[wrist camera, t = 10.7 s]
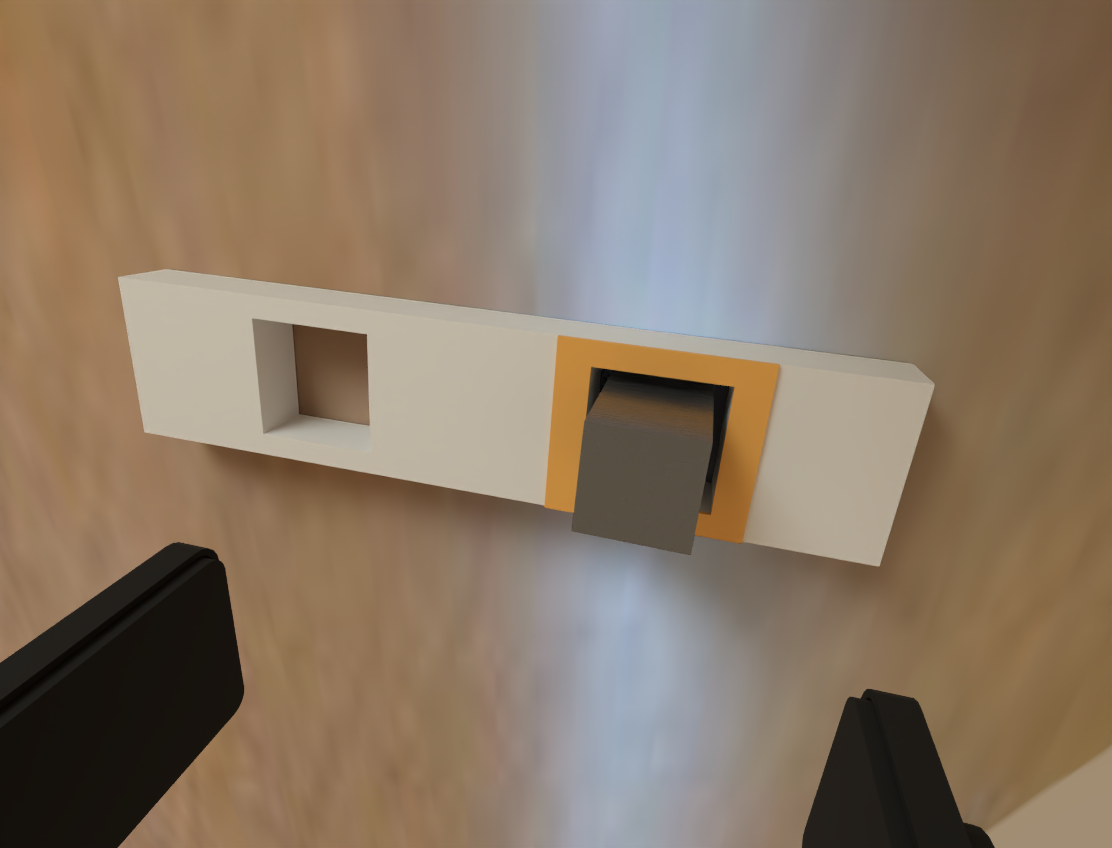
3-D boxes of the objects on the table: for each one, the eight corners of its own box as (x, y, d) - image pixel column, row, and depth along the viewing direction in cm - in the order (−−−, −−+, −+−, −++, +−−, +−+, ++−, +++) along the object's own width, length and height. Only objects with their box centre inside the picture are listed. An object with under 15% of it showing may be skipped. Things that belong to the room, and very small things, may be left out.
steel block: (617, 362, 30) (583, 421, 22) (714, 377, 29) (712, 443, 22) (605, 449, 31) (571, 531, 24) (697, 465, 31) (690, 555, 23)
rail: (167, 269, 34) (114, 277, 31) (913, 363, 27) (936, 386, 24) (187, 413, 37) (141, 433, 34) (864, 531, 30) (880, 569, 27)
